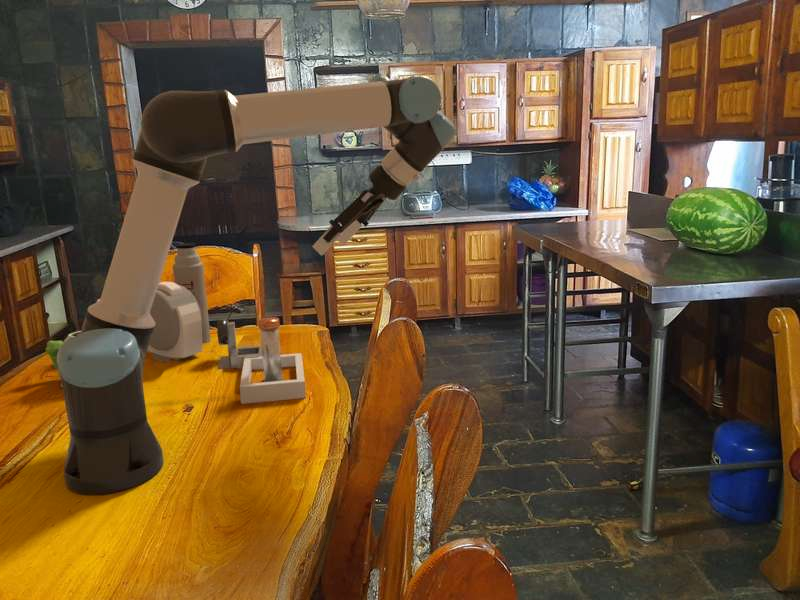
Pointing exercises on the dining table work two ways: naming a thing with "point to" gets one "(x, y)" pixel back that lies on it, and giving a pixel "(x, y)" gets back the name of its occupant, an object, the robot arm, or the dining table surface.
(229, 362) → the block
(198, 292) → the thermos bottle
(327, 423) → the dining table surface
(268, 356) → the pin
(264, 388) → the tray
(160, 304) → the beige rounded housing
